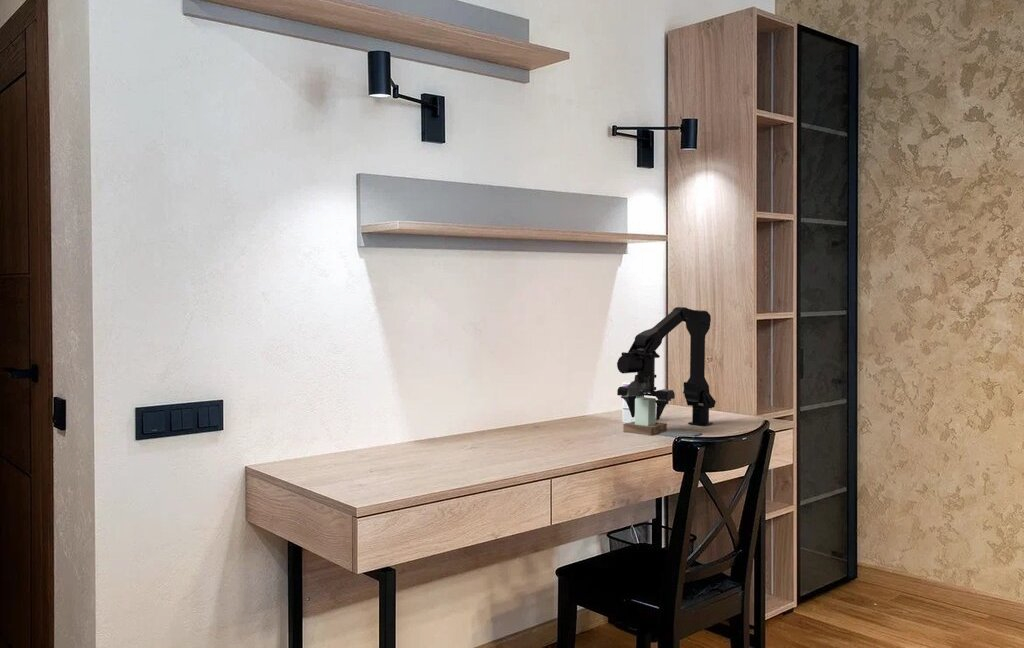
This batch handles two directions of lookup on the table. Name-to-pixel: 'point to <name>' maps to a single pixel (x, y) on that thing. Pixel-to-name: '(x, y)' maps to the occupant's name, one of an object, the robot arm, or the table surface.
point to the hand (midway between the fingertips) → (645, 418)
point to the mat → (679, 433)
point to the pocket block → (645, 428)
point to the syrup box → (627, 408)
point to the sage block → (645, 411)
